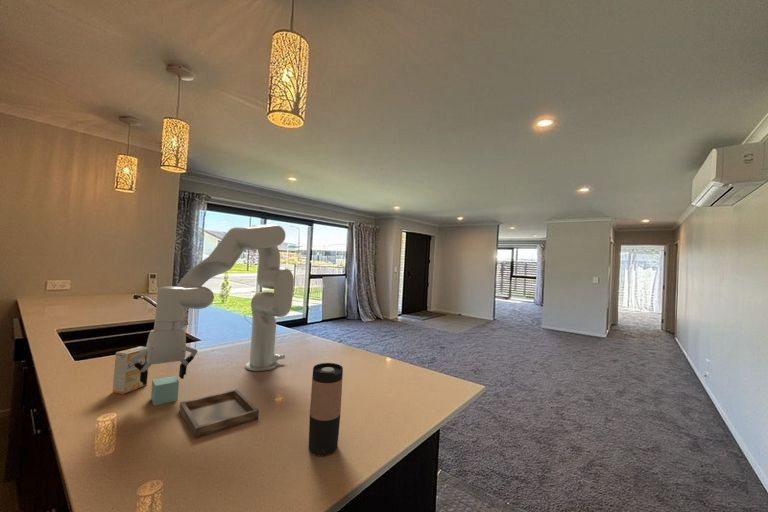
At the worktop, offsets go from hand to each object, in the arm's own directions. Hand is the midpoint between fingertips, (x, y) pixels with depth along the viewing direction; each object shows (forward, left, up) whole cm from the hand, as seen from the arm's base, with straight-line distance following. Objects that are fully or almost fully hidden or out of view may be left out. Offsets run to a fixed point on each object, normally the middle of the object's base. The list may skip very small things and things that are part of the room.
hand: (163, 380), depth 97 cm
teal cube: (-1, 0, -6) cm, 6 cm away
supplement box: (+6, -15, -6) cm, 18 cm away
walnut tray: (-11, +20, -6) cm, 23 cm away
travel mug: (-26, +52, -6) cm, 58 cm away
